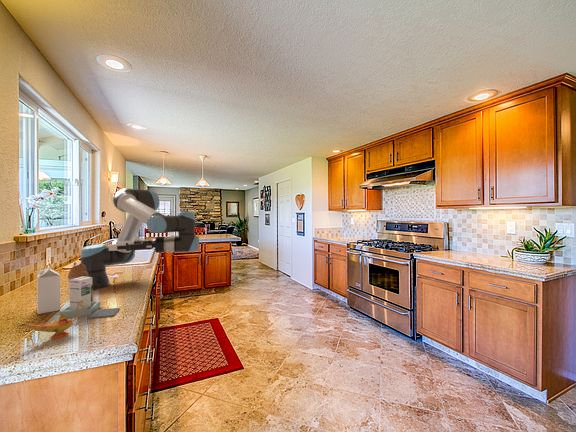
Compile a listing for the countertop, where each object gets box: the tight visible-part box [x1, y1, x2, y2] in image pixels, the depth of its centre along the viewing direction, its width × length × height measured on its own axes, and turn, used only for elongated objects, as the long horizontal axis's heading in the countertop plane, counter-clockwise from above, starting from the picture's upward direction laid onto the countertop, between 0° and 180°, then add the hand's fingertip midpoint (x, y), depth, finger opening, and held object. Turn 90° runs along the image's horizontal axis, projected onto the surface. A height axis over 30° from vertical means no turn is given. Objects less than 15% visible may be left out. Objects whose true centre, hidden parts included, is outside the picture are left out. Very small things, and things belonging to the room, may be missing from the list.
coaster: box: [86, 307, 121, 320], centre depth 114 cm, size 9×9×1 cm
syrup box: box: [68, 277, 94, 310], centre depth 116 cm, size 6×6×14 cm
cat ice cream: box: [67, 261, 88, 282], centre depth 132 cm, size 9×8×18 cm
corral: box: [59, 300, 101, 318], centre depth 116 cm, size 11×11×2 cm
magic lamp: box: [16, 299, 86, 340], centre depth 92 cm, size 7×18×11 cm, turn 141°
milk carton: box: [36, 264, 61, 315], centre depth 117 cm, size 7×7×19 cm
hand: (113, 245), depth 123 cm, fingers open, 13 cm apart
